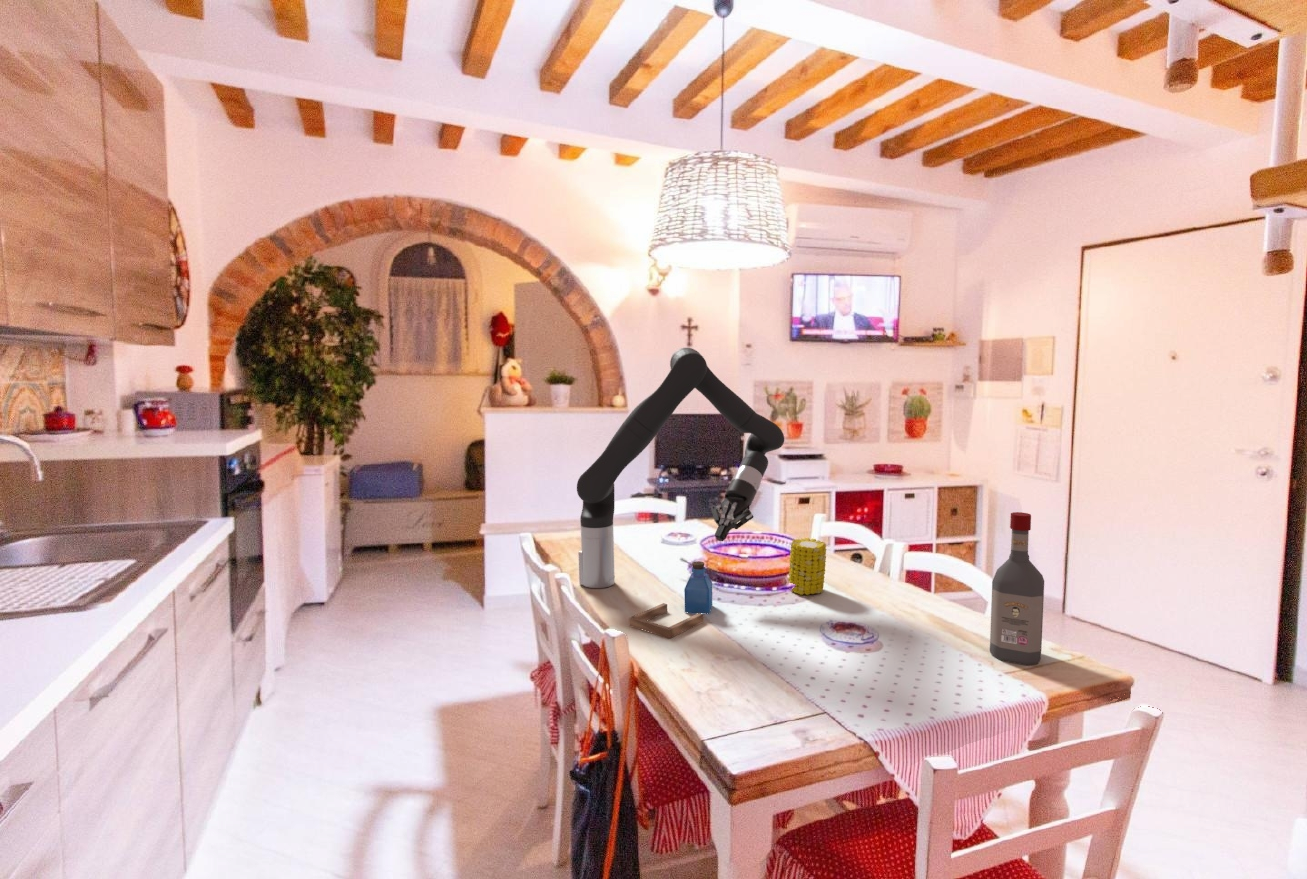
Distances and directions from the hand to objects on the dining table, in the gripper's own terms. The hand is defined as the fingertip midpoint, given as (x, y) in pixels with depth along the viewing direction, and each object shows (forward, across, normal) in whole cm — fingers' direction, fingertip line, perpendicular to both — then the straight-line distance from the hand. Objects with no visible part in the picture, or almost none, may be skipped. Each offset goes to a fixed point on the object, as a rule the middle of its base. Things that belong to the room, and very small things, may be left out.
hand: (718, 539), depth 177 cm
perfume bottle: (+18, 0, +5) cm, 19 cm away
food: (-2, +15, +26) cm, 30 cm away
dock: (+27, 0, -4) cm, 27 cm away
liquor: (+5, +68, +19) cm, 71 cm away
